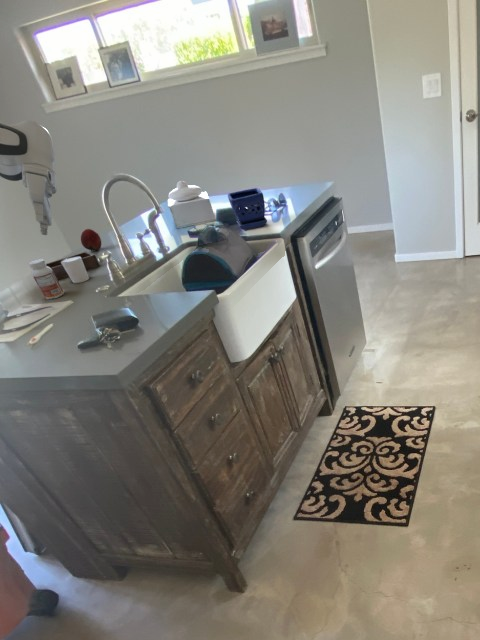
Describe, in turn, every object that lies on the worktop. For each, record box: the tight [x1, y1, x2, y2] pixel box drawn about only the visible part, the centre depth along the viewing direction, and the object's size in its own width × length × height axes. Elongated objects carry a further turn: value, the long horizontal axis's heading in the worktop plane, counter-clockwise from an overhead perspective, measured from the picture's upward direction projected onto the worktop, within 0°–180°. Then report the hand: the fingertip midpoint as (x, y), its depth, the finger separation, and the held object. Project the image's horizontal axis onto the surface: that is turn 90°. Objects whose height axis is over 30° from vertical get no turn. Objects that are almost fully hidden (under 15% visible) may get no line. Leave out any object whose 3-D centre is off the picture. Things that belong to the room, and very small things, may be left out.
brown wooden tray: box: [46, 251, 101, 281], centre depth 193 cm, size 18×10×4 cm, turn 134°
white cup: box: [61, 257, 90, 284], centre depth 182 cm, size 7×7×7 cm
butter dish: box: [167, 180, 217, 230], centre depth 229 cm, size 18×18×16 cm
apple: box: [80, 228, 102, 252], centre depth 212 cm, size 7×8×8 cm
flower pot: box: [227, 187, 268, 231], centre depth 210 cm, size 13×13×12 cm
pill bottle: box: [28, 258, 65, 300], centre depth 170 cm, size 6×6×11 cm
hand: (41, 227), depth 161 cm, fingers open, 8 cm apart
